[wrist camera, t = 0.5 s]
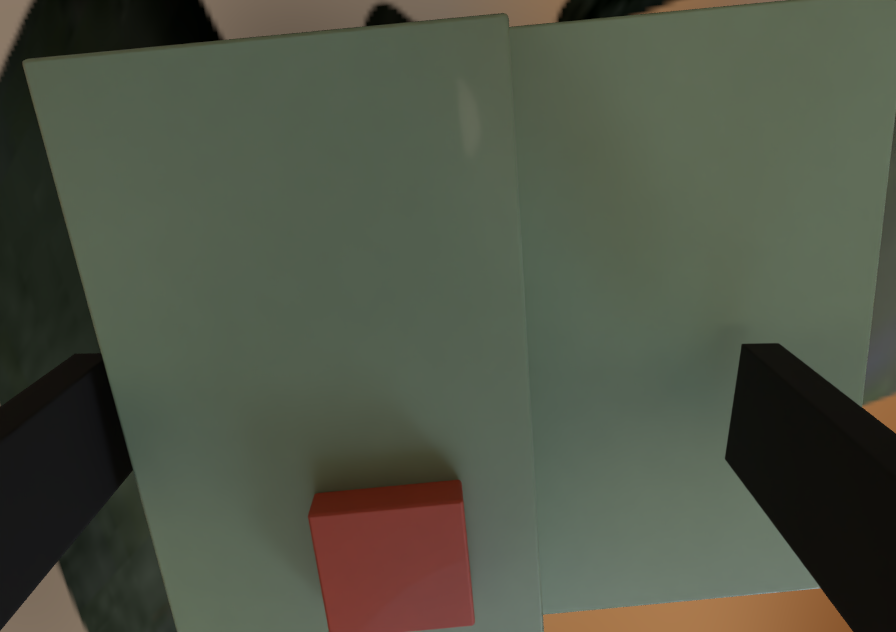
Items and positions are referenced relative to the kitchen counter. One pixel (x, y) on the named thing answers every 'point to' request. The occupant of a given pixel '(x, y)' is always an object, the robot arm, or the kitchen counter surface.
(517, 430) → the coffee machine
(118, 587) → the kitchen counter surface
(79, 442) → the robot arm
